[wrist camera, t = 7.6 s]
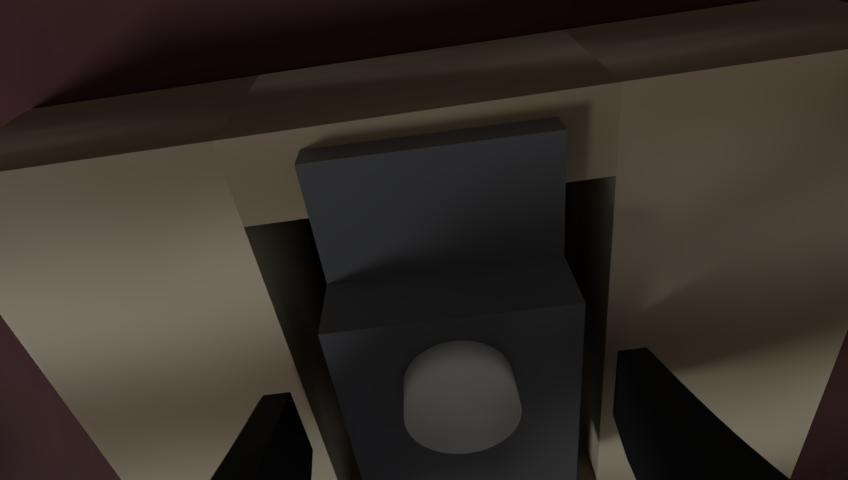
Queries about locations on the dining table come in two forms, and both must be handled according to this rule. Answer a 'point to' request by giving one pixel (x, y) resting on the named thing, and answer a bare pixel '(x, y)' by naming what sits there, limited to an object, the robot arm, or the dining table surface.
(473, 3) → the dining table surface
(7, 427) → the dining table surface
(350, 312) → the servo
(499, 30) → the dining table surface
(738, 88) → the tan slotted block
